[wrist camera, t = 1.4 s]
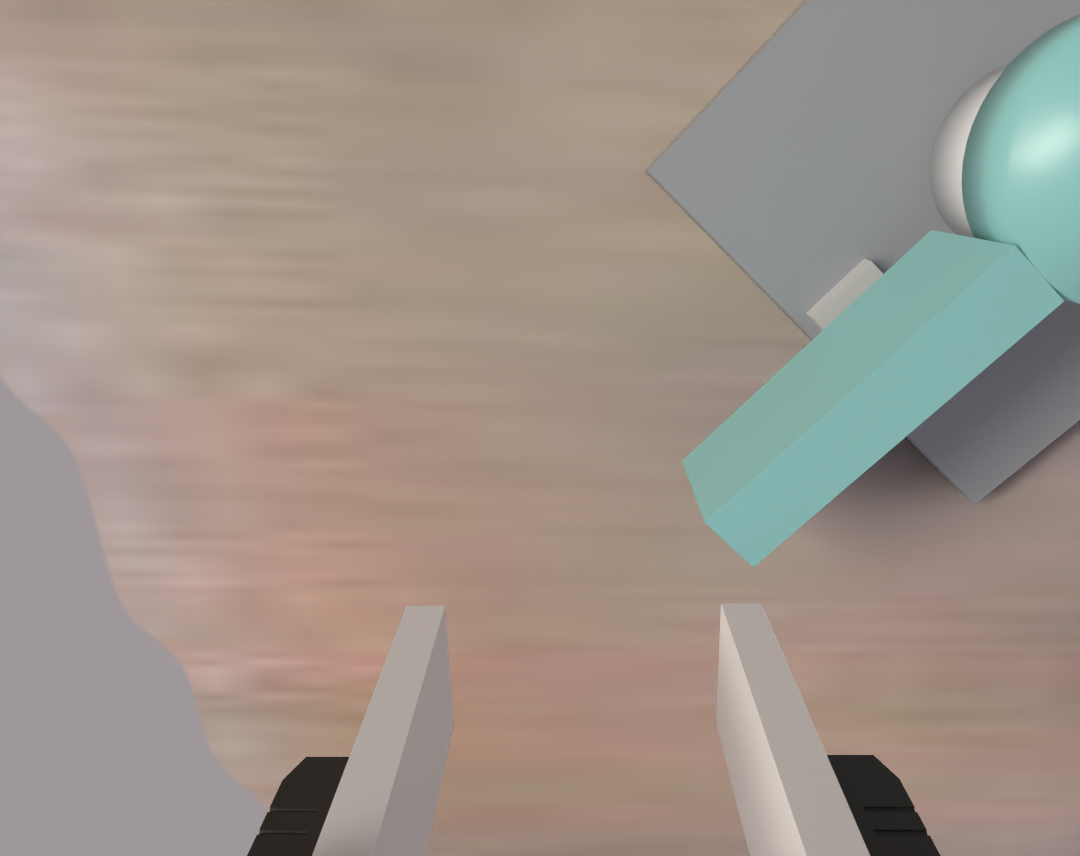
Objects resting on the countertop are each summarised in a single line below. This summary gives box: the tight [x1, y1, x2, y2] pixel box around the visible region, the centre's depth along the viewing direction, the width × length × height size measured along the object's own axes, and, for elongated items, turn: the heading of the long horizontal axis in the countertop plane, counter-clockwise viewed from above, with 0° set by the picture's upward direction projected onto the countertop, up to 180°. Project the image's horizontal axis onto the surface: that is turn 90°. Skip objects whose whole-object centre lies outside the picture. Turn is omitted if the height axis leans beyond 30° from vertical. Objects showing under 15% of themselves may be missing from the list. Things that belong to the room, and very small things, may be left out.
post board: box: [646, 0, 1080, 504], centre depth 29 cm, size 20×23×6 cm
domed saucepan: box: [682, 14, 1080, 567], centre depth 27 cm, size 22×9×7 cm, turn 137°
